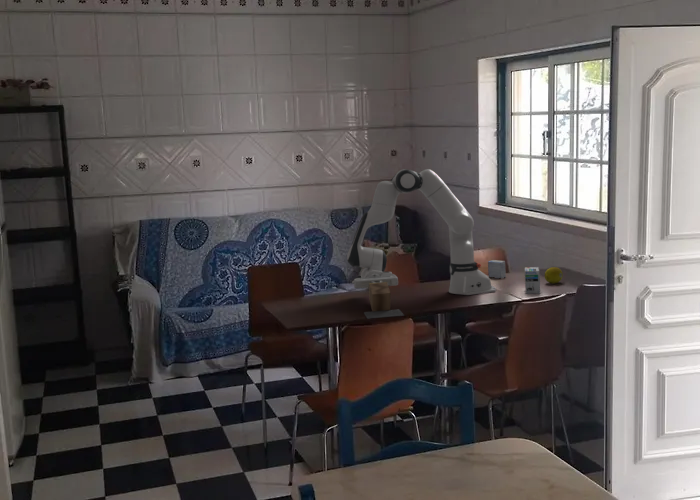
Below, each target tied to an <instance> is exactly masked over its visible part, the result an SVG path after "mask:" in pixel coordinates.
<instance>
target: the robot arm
mask: <svg viewBox="0 0 700 500" xmlns="http://www.w3.org/2000/svg"><path fill="white" fill-rule="evenodd" d="M417 190H418V191H420V192H421V193H422V195H423V196H424V197H425V198H426V199H427V201H428V202H429V203H430V204H431V206H432V207H433V208H434V210H435V211H437V213H438V214H439V216H440V217H441V218H442V220H443V221H444V222H445V223H446V224H447V226H448V236H449V248H450V249H449V251H450V252H449V253H450V263H449V274H450V283H449V288H448V293H450V294H455V295H464V296H470V295H479V294H481V295H482V294H487V293H489V294H490V293H494V292H496V291H497V287H495V286H493V285H492V282H491V279H490V278H489V277H488V274H486V273H484V271H483V272H482V271H481V270H480V268H482V264H481V263H480V262H476V261H475V250H474V249H475V248H474V239H473V230H474V227H475V221H474V218H473V216H472V215H471V213H469V211H468V210H467V209H466V207H465V206H464V205H463V204H462V203H461V201H459V199H458V198H457V197H456V195H455V194H454V193H453V192H452V190H451V189H450V188H449V187H448V185H447V183H445V181H444V180H443V179H442V178H441V177H440V176H439V175H438V174H437V173H436V172H435V171H433V170H432V169H430V168H427V169H426V168H425V169H423V170H421V171H420V172H417V171H414V170H412V169H407V168H405V169H404V168H403V169H400V170H399V171H398V172H397V173H395V174H394V176H393V177H392V178H391V180H389V181H388V180H382V181H380V182H378V183H377V185H376V188H375V191H374V193H373V198H372V202H371V206H370V208H369V210H368V211H366V212H364V213H363V214H362V216H361V217H360V218H361V219H360V221H359V223H358V226H357V229H356V232H355V235H354V238H353V240H352V243H351V245H350V247H349V249H348V251H347V255H346V261H347V263H348V264H349V265H350V266H351V267H354V268H363V269H362V271H361V273H360V276H361V277H357V278H354V280H352V281H351V283H352V284H353V286H354V287H353V288H354V289H367V288H368V289H369V284H370V283H382V282H387V284H388V287H392V286H393V287H394V286H398V285H399V278H398V276H397V275H396V274H394V273H392V271H385V270H386V268H387V264H388V263H387V262H388V259H387V257H388V256H387V254H386V252H385V251H384V250H383V249H381V248H380V249H379V248H374V247H373V248H372V247H365V246H362V243H363V241H364V237H365V235H366V232H367V230H368V229H369V228H370V227H373V226H375V225H376V226H377V225H381V224H385V223H387V222H389V221H391V220H392V219H393V217H394V215H395V210H396V205H397V200H398V197H399V195H400V194H409V193H412V192H415V191H417Z"/></svg>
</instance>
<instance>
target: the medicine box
mask: <svg viewBox="0 0 700 500" xmlns="http://www.w3.org/2000/svg"><path fill="white" fill-rule="evenodd" d="M487 269H488V270H487V273H488V274H487V276H488V277H495V278H494V279H499V278H502V279H505V278H506V277H507V276H506V275H507V274H506V261H505V260H496V259H492V260H489V261H487ZM504 277H505V278H504Z"/></svg>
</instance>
